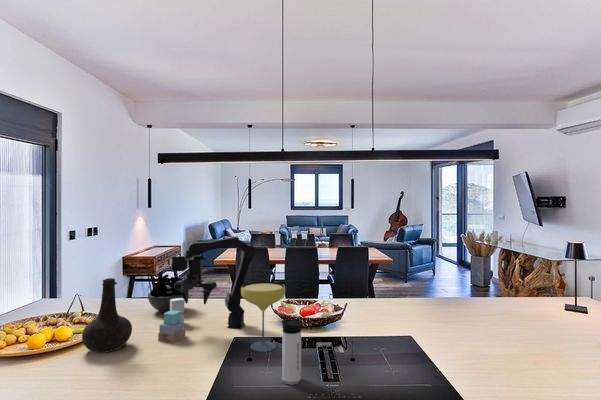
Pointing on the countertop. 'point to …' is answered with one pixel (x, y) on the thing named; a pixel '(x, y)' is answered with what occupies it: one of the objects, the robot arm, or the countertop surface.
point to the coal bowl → (164, 293)
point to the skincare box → (177, 306)
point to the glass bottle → (107, 324)
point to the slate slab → (171, 328)
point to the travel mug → (291, 352)
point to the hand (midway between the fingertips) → (195, 303)
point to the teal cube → (172, 317)
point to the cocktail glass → (263, 304)
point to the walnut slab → (171, 336)
